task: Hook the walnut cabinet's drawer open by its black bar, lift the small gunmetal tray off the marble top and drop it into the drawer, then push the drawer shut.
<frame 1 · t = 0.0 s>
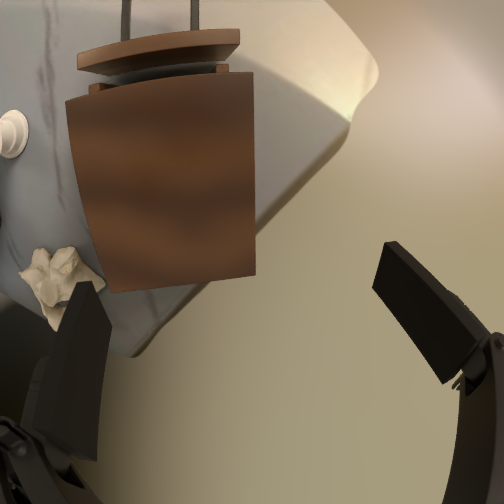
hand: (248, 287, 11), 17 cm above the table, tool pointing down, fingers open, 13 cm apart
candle: (12, 133, 18), on the table
drawer: (162, 89, 17), point 5 cm above the table, slide at 2.0 cm
cabinet: (173, 160, 24), on the table
bone: (77, 270, 28), on the table
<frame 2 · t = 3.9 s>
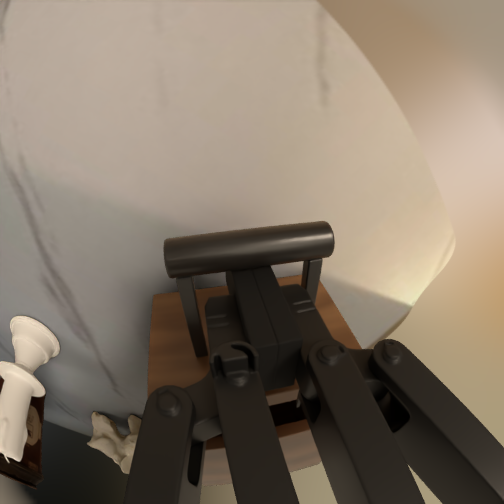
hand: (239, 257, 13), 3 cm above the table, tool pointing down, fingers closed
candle: (35, 335, 17), on the table
drawer: (250, 368, 16), point 5 cm above the table, slide at 2.8 cm, touching gripper
cabinet: (241, 370, 24), on the table
bone: (137, 423, 27), on the table
coffee cup: (23, 380, 20), on the table
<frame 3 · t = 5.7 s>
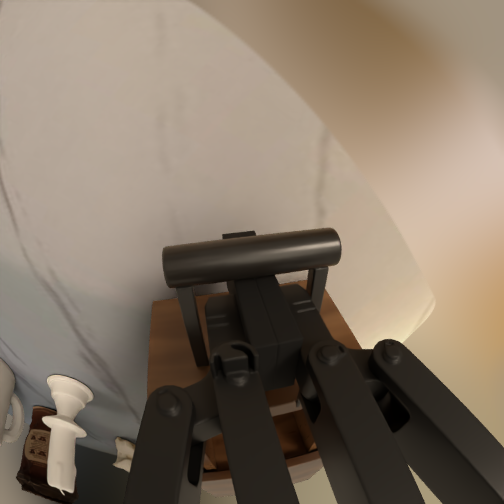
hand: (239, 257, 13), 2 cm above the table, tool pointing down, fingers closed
cup: (0, 369, 18), on the table
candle: (70, 386, 21), on the table
drawer: (252, 376, 15), point 5 cm above the table, slide at 10.2 cm
cabinet: (245, 408, 27), on the table
bone: (154, 444, 31), on the table
coffee cup: (53, 414, 23), on the table
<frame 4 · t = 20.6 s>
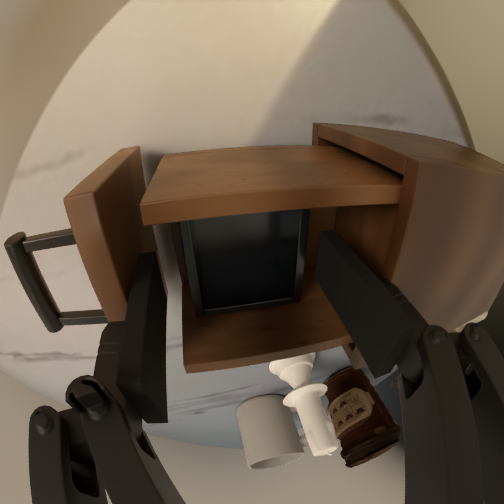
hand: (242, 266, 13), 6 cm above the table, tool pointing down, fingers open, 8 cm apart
cup: (270, 401, 34), on the table
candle: (291, 359, 28), on the table
tray: (237, 226, 16), point 2 cm above the table, touching drawer
drawer: (192, 257, 13), point 5 cm above the table, slide at 10.4 cm, touching tray
cabinet: (389, 201, 20), on the table
coffee cup: (340, 377, 34), on the table
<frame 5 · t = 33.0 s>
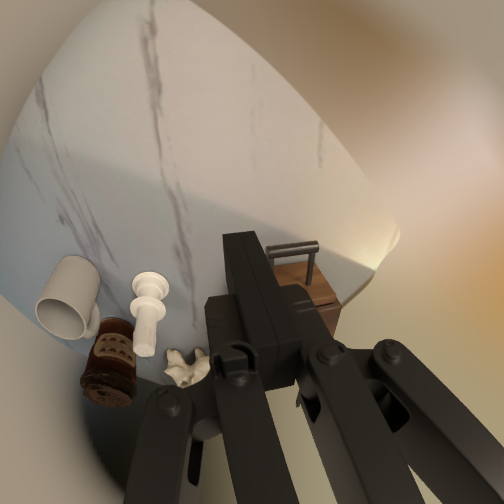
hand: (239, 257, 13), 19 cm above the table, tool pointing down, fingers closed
cup: (84, 281, 34), on the table
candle: (150, 285, 36), on the table
drawer: (285, 303, 36), point 5 cm above the table, slide at 0.0 cm, touching tray
cabinet: (274, 305, 43), on the table
bone: (197, 358, 47), on the table
coffee cup: (117, 328, 39), on the table
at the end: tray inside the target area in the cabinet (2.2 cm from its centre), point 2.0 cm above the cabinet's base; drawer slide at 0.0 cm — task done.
